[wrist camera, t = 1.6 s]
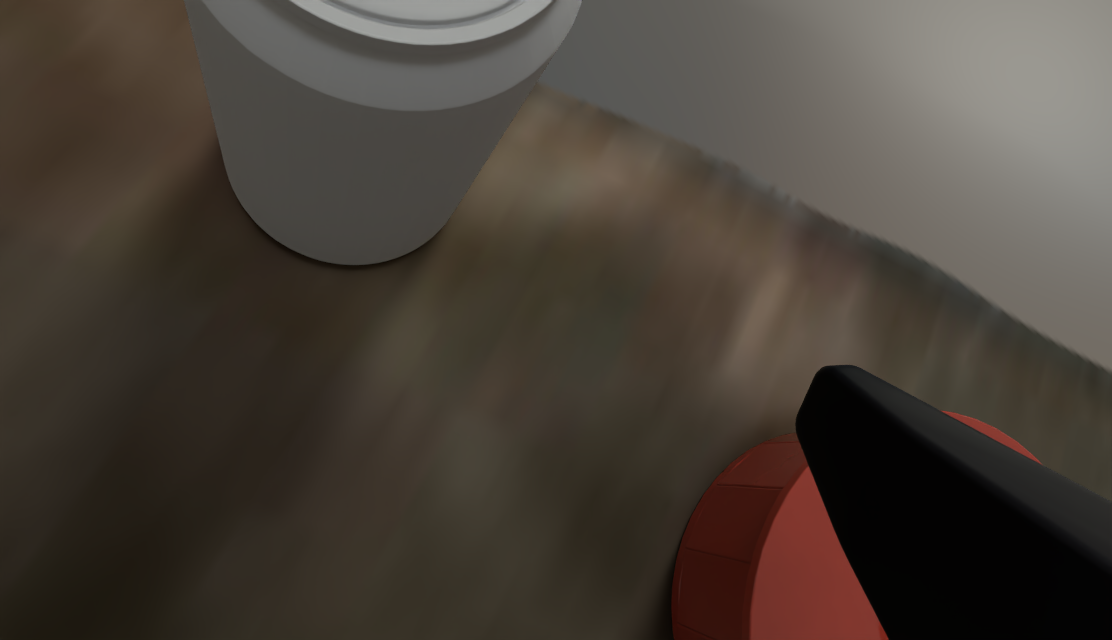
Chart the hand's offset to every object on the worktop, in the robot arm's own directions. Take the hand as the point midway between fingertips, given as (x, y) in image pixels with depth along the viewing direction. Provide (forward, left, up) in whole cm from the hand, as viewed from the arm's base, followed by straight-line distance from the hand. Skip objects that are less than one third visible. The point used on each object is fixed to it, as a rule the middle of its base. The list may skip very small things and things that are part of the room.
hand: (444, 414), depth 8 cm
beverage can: (+7, +4, -14) cm, 16 cm away
